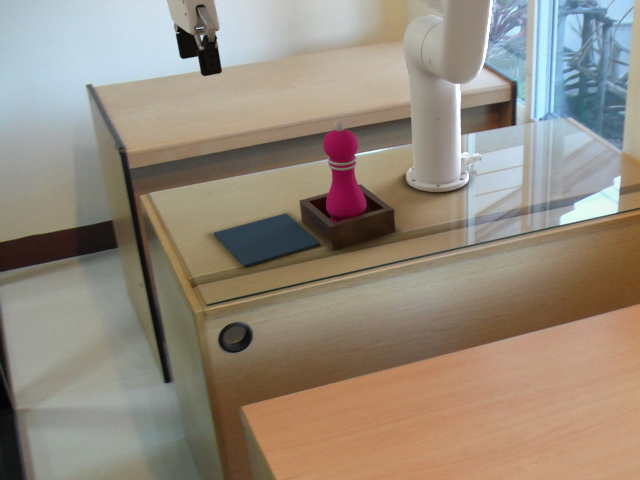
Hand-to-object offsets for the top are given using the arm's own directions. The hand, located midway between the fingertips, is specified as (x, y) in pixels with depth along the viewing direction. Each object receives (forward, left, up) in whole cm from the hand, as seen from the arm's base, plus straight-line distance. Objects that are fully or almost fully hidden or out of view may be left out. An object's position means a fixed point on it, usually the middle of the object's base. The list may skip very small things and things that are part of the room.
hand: (200, 65), depth 150 cm
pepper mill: (-19, +8, -31) cm, 37 cm away
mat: (-5, +5, -31) cm, 31 cm away
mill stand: (-19, +8, -31) cm, 37 cm away
